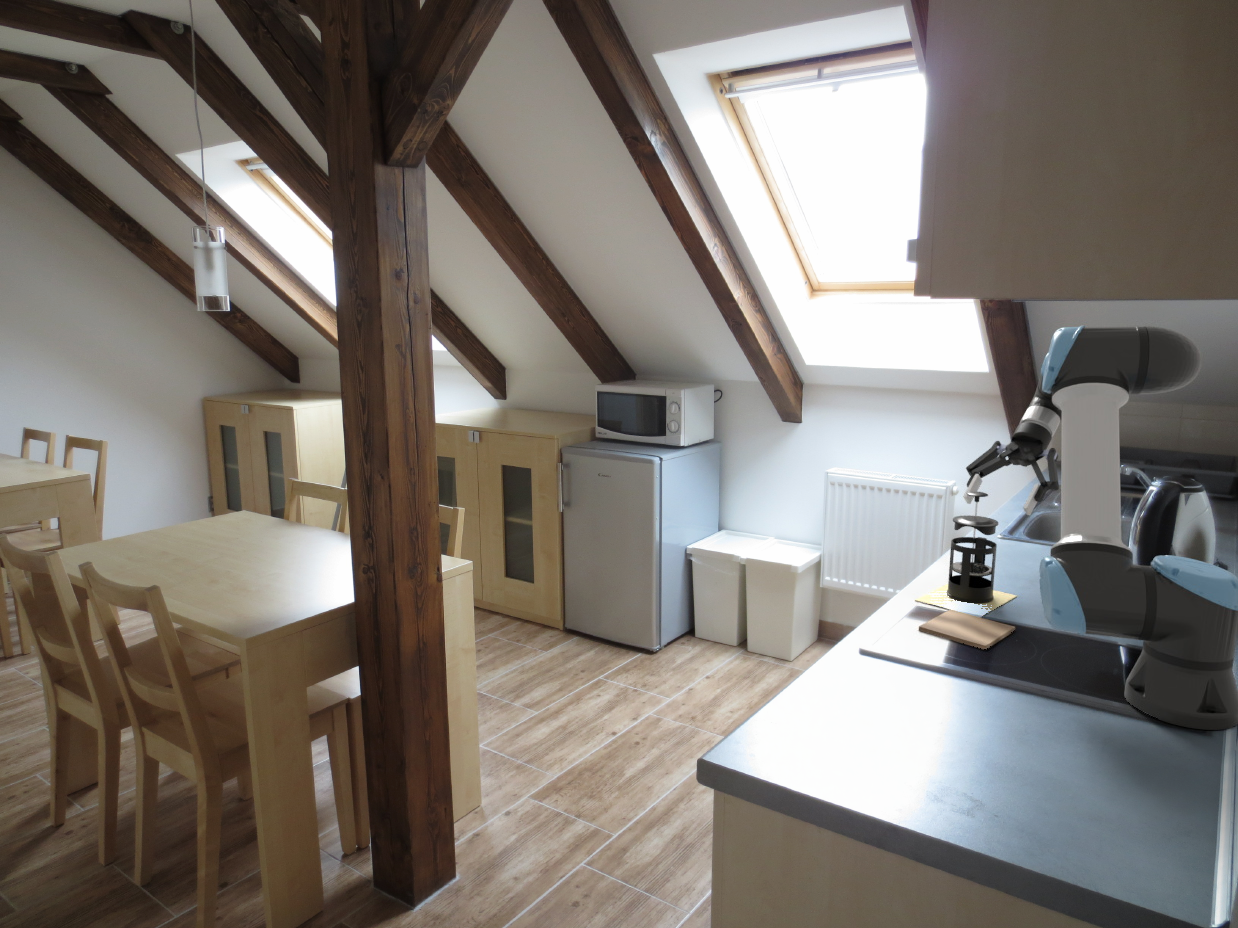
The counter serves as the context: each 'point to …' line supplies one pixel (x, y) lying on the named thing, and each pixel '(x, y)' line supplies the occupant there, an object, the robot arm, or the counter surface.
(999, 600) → the recipe card
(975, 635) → the wooden cutting board
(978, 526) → the french press
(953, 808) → the counter surface
